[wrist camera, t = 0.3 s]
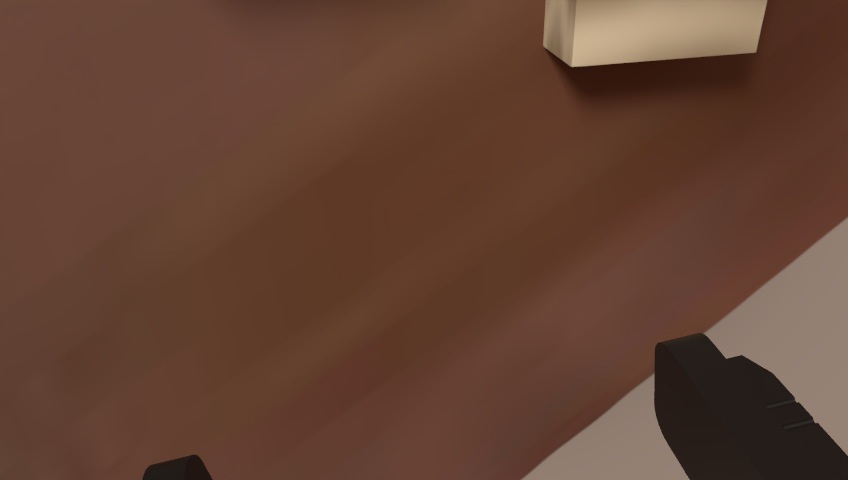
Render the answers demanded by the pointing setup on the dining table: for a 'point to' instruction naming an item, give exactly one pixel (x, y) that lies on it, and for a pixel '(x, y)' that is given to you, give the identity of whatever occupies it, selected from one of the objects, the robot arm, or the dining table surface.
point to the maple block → (650, 29)
